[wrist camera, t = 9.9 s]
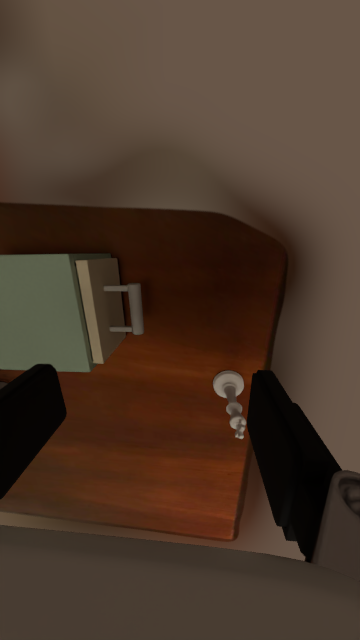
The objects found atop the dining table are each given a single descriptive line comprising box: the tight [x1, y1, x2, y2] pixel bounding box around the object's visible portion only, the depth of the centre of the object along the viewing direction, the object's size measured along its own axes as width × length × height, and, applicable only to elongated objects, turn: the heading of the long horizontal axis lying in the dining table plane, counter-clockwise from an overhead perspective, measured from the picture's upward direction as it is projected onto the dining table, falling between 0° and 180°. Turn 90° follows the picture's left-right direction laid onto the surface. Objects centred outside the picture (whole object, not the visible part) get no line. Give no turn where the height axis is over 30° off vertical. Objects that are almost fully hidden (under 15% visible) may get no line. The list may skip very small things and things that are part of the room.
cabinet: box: [0, 253, 111, 372], centre depth 25 cm, size 15×13×10 cm
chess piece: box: [213, 371, 246, 439], centre depth 28 cm, size 5×5×10 cm
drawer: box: [75, 258, 144, 363], centre depth 25 cm, size 18×11×8 cm, turn 91°
